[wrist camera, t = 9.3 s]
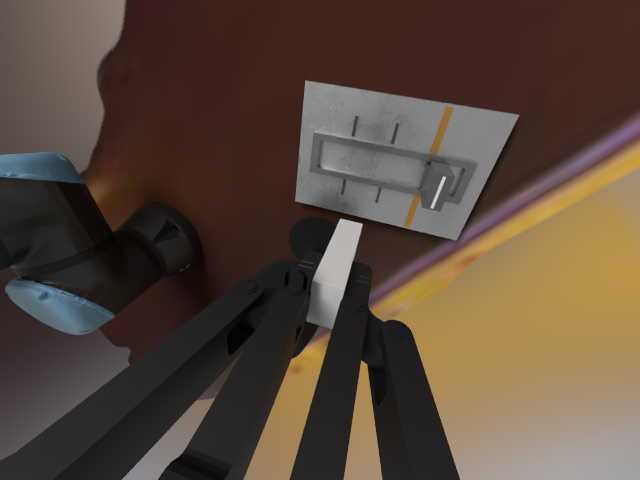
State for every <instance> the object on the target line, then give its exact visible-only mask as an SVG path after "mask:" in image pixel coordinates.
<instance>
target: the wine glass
mask: <svg viewBox="0 0 640 480" xmlns="http://www.w3.org/2000/svg"><path fill="white" fill-rule="evenodd" d="M335 229H336V226H335V225H334V224H333V223H331V222H329V221H327V220H325V219H322V218H317V217H309V218H305V219H302V220H300V221H298V222H297V223H296V224H295V225H294V226H293V228H292V230H291V232H290V236H289V242H290V246H291V249H292V251H293V253H294V254H295V255H296V257H297V258H298V259H299V260H300V261H301V259H302V258H303V256H304V254H306V253H307V252H309V251H310V250H311V251H314V252H318V253H322V254H325V251H326V249H327V247H328V245H329V243H330V240H331V238H332V236H333V234H334V232H335ZM299 263H300V262H298V261H293V260H282V261H277V262H274V263H271V264H269V265H267V266H265V267H263V268H262V269H261V270H259V271H258V272H257V273H256V274H255V275H254V276H253V277H252V278H251V279H255V280H258V281H260V282H261V283H262V284H263V286H264V288H278V287H281V286H282V276H283V272H284V271H285V270H286V269H289V268H294V267H297V266H298V265H299ZM306 318H307V317H306ZM318 327H319V325H317V324H314V323H311V322H307V321H306V319H305V322H304V326H303V331H302V334H301V336H300V339H299V341H298V344H297V346H296V349H295V351H294V354H293V356H292V358H294V357H296V356H298V355H299V354H300V353H301V352H302V350H303V349H304V348H305V347H306V345H307V344H308V343H309V342H310V340H311V339H312V337H313V336H314V334H315V332H316V331H317V329H318Z"/></svg>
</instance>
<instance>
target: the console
mask: <svg viewBox="0 0 640 480" xmlns="http://www.w3.org/2000/svg"><path fill="white" fill-rule="evenodd" d="M518 117H519V115H517V114H513V113H507V112H501V111H494V110H488V109H482V108H476V107H469V106H463V105H457V104H451V103H445V102H438V101H432V100H426V99H420V98H414V97H407V96H401V95H395V94H389V93H382V92H376V91H370V90H364V89H358V88H351V87H345V86H339V85H333V84H326V83H320V82H314V81H305V91H304V103H303V115H302V127H301V139H300V151H299V163H298V175H297V187H296V199H295V201H297V202H301V203H305V204H309V205H313V206H317V207H321V208H326V209H330V210H334V211H338V212H342V213H346V214H350V215H354V216H358V217H362V218H366V219H370V220H375V221H379V222H383V223H387V224H391V225H395V226H399V227H403V228H407V229H411V230H415V231H419V232H424V233H428V234H432V235H436V236H440V237H444V238H448V239H452V240H456V241H457V239H458V237H459V235H460V233H461V231H462V229H463V227H464V225H465V223H466V221H467V219H468V217H469V215H470V213H471V211H472V209H473V207H474V205H475V203H476V201H477V199H478V197H479V195H480V193H481V191H482V189H483V187H484V185H485V183H486V181H487V179H488V177H489V175H490V173H491V171H492V169H493V167H494V165H495V163H496V161H497V159H498V157H499V155H500V153H501V151H502V149H503V147H504V145H505V143H506V141H507V139H508V137H509V135H510V133H511V131H512V129H513V127H514V125H515V123H516V121H517V119H518ZM431 161H434V162H439V163H444V164H449V166H450V168H451V170H452V171H453V173H454V175H455V179H454V181H453V184H452V186H451V188H450V191H449V193H448V195H447V198H446V200H445V202H444V205H443V207H442V209H441V212H439V211H434V210H430V209H425V208H422V205H421V197H420V191H421V188H422V187H420V182H421V179H422V176H423V173H424V171H425V168H426V165H427V163H428V164H430V163H431Z"/></svg>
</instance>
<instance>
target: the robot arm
mask: <svg viewBox="0 0 640 480" xmlns="http://www.w3.org/2000/svg"><path fill="white" fill-rule="evenodd" d="M86 184H87V183H86V182H85V181H84V180H82V178H81V177H80V175H79V174H78V172H77V171H76V169H75V167H74V166H73V164H72V163H71V161H69V160H68V159H67V158H66V157H64V156H63V155H60V154H58V153H52V152H43V153H27V154H10V155H0V270H3V269H5V268H7V267H11V268H12V269H13V271H14V272H15V273H16V274H17V276H18V279H14V280H11V282H10V283H9V284H8V285H7V286H6V288H5V289H6V292H7V293H8V296H9V297H10V298H11V299H12V301H14V302H15V303H16V304H17V305H18V306H19V307H20V308H22V309H23V310H24V311H26V312H27V313H29V314H30V315H32V316H33V317H35V318H36V319H38V320H40V321H41V322H43V323H45V324H47V325H49V326H51V327H53V328H55V329H58V330H60V331H63V332H66V333H69V334H75V335H83V334H87V333H90V332H92V331H94V330H95V329H97V328H98V327H100V326H101V325H103V324H104V323H106V322H107V321H109V320H110V319H113V318H114V317H115V315H116V314H117V313H119V312H120V311H121V310H122V309H124V308H125V307H126V306H127V305H129V304H130V303H131V302H132V301H134V300H135V299H136V298H137V297H139V296H140V295H141V294H142V293H144V292H145V291H146V290H147V289H149V288H150V287H151V286H152V285H154V284H155V283H156V282H157V281H159V280H160V279H162V278H165V277H167V276H170V275H173V274H175V273H177V272H180V271H183V270H186V269H187V268H189V267H190V266H191V265H193V264H194V263H195V262H196V261H197V260H198V258H199V256H200V251H201V249H200V242H199V239H198V236H197V234H196V232H195V231H194V229H193V228H192V226H191V225H190V223H189V222H188V221H187V220H186V219H185V218H184V217H183V216H182V215H181V214H179V213H178V212H177V211H175V210H174V209H172V208H170V207H168V206H165V205H163V204H158V203H150V204H147V205H145V206H143V207H140V208H138V209H137V210H135V211H134V212H133V213H132V214H131V215H130V217H129V218H128V219H127V220H126V221H125V222H124V223H123V224H122V225H121V226H120V227H119V228H118V229H117V230H115V231H113V232H112V230H111V229H110V227H109V225H108V224H107V222H106V220H105V218H104V217H103V215H102V213H101V211H100V209H99V208H98V206H97V204H96V202H95V200H94V199H93V197H92V195H91V193H90V191H89V190H88V188H87V186H86ZM362 225H363V224H361V223H357V222H352V221H348V220H344V219H340V221H339V223H338V225H337V227H336V229H335V232H334V234H333V236H332V238H331V240H330V243H329V245H328V247H327V249H326V251H325V254H322V253H318V252H314V251H311V250H310V251H309V252H307V253H306V254H304V256H303V258H302V259H301V261H300V263H299V265H298V266H297V267H294V268H289V269H286V270H285V271H284V272H283V276H282V286H281V287H278V288H264V286H263V284H262V283H261V282H260V281H258V280H255V279H246V280H242V281H240V282H239V283H237V284H236V285H235V286H233V287H232V288H231V289H229V290H228V291H227V292H225V293H224V294H223V295H222V296H220V297H219V298H218V299H216V300H215V301H214V302H212V303H211V304H210V305H208V306H207V307H206V308H204V309H203V310H202V311H201V312H199V313H198V314H197V315H195V316H194V317H193V318H191V319H190V320H189V321H187V322H186V323H185V324H183V325H182V326H181V327H180V328H178V329H177V330H176V331H174V332H173V333H172V334H170V335H169V336H168V337H166V338H165V339H164V340H162V341H161V342H160V343H159V344H157V345H156V346H155V347H153V348H152V349H151V350H149V351H148V352H147V353H145V354H144V355H143V356H142V357H140V358H139V359H138V360H136V361H135V362H134V363H132V364H131V365H130V366H128V367H127V368H126V369H124V370H123V371H122V372H121V373H119V374H118V375H117V376H115V377H114V378H113V379H111V380H110V381H109V382H107V383H106V384H105V385H103V386H102V387H101V388H100V389H98V390H97V391H96V392H94V393H93V394H92V395H90V396H89V397H88V398H86V399H85V400H84V401H83V402H81V403H80V404H79V405H77V406H76V407H75V408H73V409H72V410H71V411H70V412H68V413H67V414H66V415H64V416H63V417H61V418H60V419H59V420H58V421H57V422H55V423H54V424H53V425H51V426H50V427H48V428H47V429H46V430H45V431H43V432H42V433H41V434H39V435H38V436H37V437H35V438H34V439H33V440H31V441H30V442H29V443H27V444H26V445H25V446H23V447H22V448H21V449H20V450H18V451H17V452H16V453H14V454H12V455H10V456H8V457H6V458H4V459H3V460H1V461H0V480H122V479H123V478H124V477H125V476H126V475H127V473H128V472H129V471H130V470H131V469H132V468H133V467H134V466H135V465H136V464H137V462H139V461H140V460H141V459H142V457H143V456H144V455H145V454H146V453H147V452H148V451H149V450H150V449H151V448H152V447H153V446H154V445H155V444H156V443H157V442H158V440H159V439H160V438H161V437H162V436H163V435H164V434H165V433H166V432H167V431H168V430H169V429H170V428H171V427H172V425H173V424H174V423H175V422H176V421H177V420H178V419H179V418H180V417H181V416H182V415H183V414H184V413H185V411H187V409H189V407H190V406H191V405H192V404H193V403H194V402H195V401H196V400H197V399H198V398H199V397H200V396H201V395H202V394H203V393H204V391H205V390H206V389H207V388H208V387H209V386H210V385H211V384H212V383H213V382H214V381H215V380H216V379H217V378H218V377H219V376H220V374H221V373H222V372H223V371H224V370H225V369H226V368H227V367H228V366H229V365H230V364H231V363H232V362H233V361H234V360H235V358H236V357H237V356H238V355H239V354H240V353H241V352H242V351H243V350H244V351H243V353H242V354H241V356H240V358H239V359H238V361H237V363H236V364H235V366H234V368H233V369H232V371H231V373H230V375H229V376H228V378H227V380H226V381H225V383H224V385H223V386H222V388H221V390H220V391H219V393H218V395H217V397H216V398H215V400H214V402H213V403H212V405H211V407H210V409H209V410H208V412H207V413H206V415H205V417H204V419H203V420H202V422H201V424H200V425H199V427H198V429H197V431H196V432H195V434H194V435H193V437H192V439H191V441H190V442H189V444H188V446H187V447H186V449H185V450H184V452H183V453H182V454H181V455H180V456H179V457H178V458H176V459H175V460H173V461H172V462H171V463H170V464H169V465H168V466H167V468H166V469H165V470H164V472H163V473H162V474H161V476H160V477H159V479H158V480H243V479H244V477H245V474H246V472H247V469H248V467H249V464H250V462H251V459H252V457H253V454H254V452H255V449H256V447H257V444H258V442H259V439H260V437H261V434H262V432H263V429H264V427H265V424H266V422H267V419H268V416H269V414H270V411H271V409H272V406H273V404H274V401H275V399H276V396H277V394H278V391H279V389H280V386H281V384H282V381H283V379H284V376H285V374H286V371H287V369H288V366H289V364H290V361H291V359H292V356H293V354H294V351H295V349H296V346H297V344H298V341H299V339H300V336H301V334H302V331H303V326H304V322H305V319H306V321H307V322H311V323H314V324H317V325H320V326H323V327H327V328H330V329H332V333H331V336H330V340H329V343H328V347H327V350H326V354H325V357H324V361H323V364H322V368H321V371H320V375H319V378H318V382H317V385H316V389H315V392H314V396H313V399H312V403H311V406H310V410H309V413H308V417H307V421H306V424H305V427H304V431H303V435H302V439H301V442H300V445H299V449H298V453H297V456H296V460H295V463H294V466H293V470H292V473H291V477H290V480H343V479H344V472H345V465H346V458H347V452H348V444H349V438H350V432H351V425H352V418H353V411H354V404H355V398H356V391H357V384H358V377H359V370H360V364H361V360H362V361H363V362H365V363H366V364H368V373H369V381H370V389H371V396H372V404H373V411H374V419H375V426H376V434H377V440H378V448H379V456H380V463H381V471H382V478H383V480H460V478H459V475H458V472H457V469H456V466H455V463H454V460H453V456H452V454H451V450H450V447H449V444H448V441H447V438H446V435H445V432H444V429H443V426H442V423H441V420H440V417H439V414H438V410H437V408H436V404H435V401H434V398H433V395H432V392H431V389H430V386H429V383H428V380H427V377H426V374H425V370H424V367H423V364H422V361H421V358H420V355H419V352H418V349H417V346H416V343H415V340H414V337H413V334H412V332H411V330H410V329H409V328H408V327H407V326H406V325H405V324H404V323H402V322H400V321H397V320H388V321H386V322H383V321H382V320H380V319H378V318H377V317H375V316H374V315H373V314H372V313H371V311H370V310H369V307H368V300H369V293H370V287H371V279H372V273H373V272H372V269H371V267H370V266H369V265H366V264H362V263H358V262H354V261H353V260H354V257H355V253H356V249H357V245H358V241H359V237H360V233H361V229H362ZM306 317H307V318H306Z"/></svg>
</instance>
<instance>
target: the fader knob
mask: <svg viewBox="0 0 640 480" xmlns="http://www.w3.org/2000/svg"><path fill="white" fill-rule="evenodd" d="M454 179H455V175H454V173H453V171H452V170H451V168H450V166H449V164H444V163H439V162H434V161H431V163H430V164H428V163H427V165H426V168H425V171H424V173H423V176H422V179H421V182H420V187H422V188H421V191H420V197H421V205H422V208H425V209H430V210H434V211H439V212H441V209H442V207H443V205H444V202H445V200H446V198H447V195H448V193H449V191H450V188H451V186H452V184H453V181H454Z"/></svg>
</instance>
